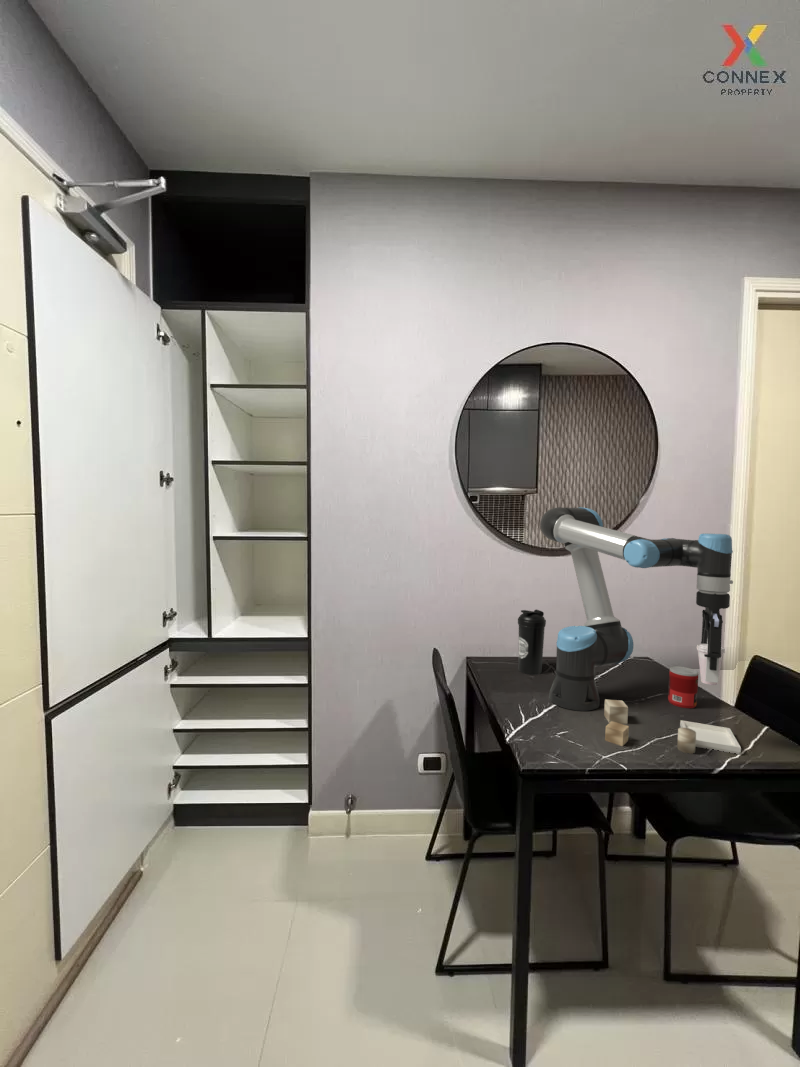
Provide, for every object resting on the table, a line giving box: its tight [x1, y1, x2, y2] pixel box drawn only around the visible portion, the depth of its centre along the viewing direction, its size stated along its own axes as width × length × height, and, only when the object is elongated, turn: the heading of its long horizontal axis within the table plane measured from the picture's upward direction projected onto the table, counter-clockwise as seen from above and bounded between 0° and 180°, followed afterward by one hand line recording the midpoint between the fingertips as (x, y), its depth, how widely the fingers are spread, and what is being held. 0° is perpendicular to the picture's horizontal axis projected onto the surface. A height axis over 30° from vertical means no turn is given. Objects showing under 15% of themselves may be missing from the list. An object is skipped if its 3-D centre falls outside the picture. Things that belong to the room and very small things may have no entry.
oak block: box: [604, 721, 630, 747], centre depth 131 cm, size 4×4×4 cm
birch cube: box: [603, 698, 629, 725], centre depth 144 cm, size 5×5×5 cm
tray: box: [679, 719, 742, 755], centre depth 133 cm, size 12×12×2 cm
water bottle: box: [517, 609, 547, 676], centre depth 185 cm, size 10×10×23 cm
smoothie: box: [696, 640, 726, 686], centre depth 131 cm, size 6×6×14 cm
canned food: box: [667, 665, 699, 709], centre depth 157 cm, size 8×8×11 cm
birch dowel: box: [676, 727, 696, 755], centre depth 127 cm, size 4×4×5 cm
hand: (709, 677), depth 131 cm, fingers closed on smoothie, 6 cm apart
